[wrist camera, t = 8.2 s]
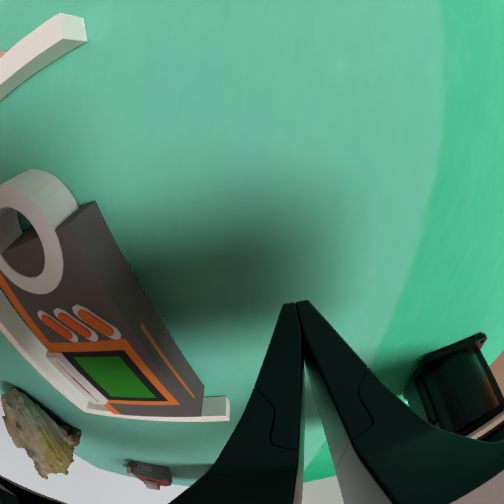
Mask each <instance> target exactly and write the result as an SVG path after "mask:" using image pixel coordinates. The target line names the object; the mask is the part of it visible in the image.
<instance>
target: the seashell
mask: <svg viewBox="0 0 504 504" xmlns="http://www.w3.org/2000/svg"><path fill="white" fill-rule="evenodd" d="M1 401H2V406H3V410H4V413H5V416H3V419H4V422H5V425H6V428H7V431H8V433H9V435H10V436H11V437H12V440H13V442H14V444H15V445H16V447H18V448H20V447H21V448H25V450H26V451H27V455H28V456H29V457H30V458H31V459H32V460H34V464H35V466H34V467H35V469H36V470H37V471H38V474H39V475H40V476H41V477H43V478H45V479H48V477H47V474H49V473H55V474H57V473H61V472H62V473H64V474H65V475H67V474H68V471H67V468H68V467H69V465H70V464H71V463H72V462H73V461H74V460H73V458H72V457H73V450H74V446H78V444H79V441H80V436H81V435H82V434H81V431H80V430H79V429H76V428H72V427H70V426H60V425H59V424H58V425H57V424H56V422H55V421H54V420H53V419H52V418H50V417H49V415H48V414H47V413H46V412H45V411H44V410H42V409H41V408H40V407H39V405H38V404H35V403H34V402H33V401H32V400H31V399H30V398H29V397H28V396H27V395H26V394H24V393H22V392H19V391H18V390H17V389H16V388H14V389H12V390H11V391H10V390H9V391H8V392H7V393H6V394H3V395H1Z"/></svg>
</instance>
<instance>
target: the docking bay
mask: <svg viewBox="0 0 504 504" xmlns="http://www.w3.org/2000/svg"><path fill="white" fill-rule="evenodd" d="M86 42H88V41H87V36H86V30H85V23H84V18H80V17H76V16H72V15H68V14H63V13H58V14H57V15H55V16H54V17H52V18H51V19H49V20H48V21H46V22H45V23H43V24H42V25H40V26H39V27H38V28H36V29H35V30H34V31H32V32H31V33H30V34H28V35H27V36H26V37H24V38H23V39H22V40H21V41H19V42H18V43H17V44H16V45H15V46H13V47H12V48H11V49H10V50H9V51H0V101H1V100H2V99H3V98H4V97H5V96H7V95H8V94H9V93H10V92H11V91H13V90H14V89H15V88H16V87H18V86H19V85H20V84H22V83H23V82H24V81H26V80H27V79H28V78H30V77H31V76H32V75H34V74H35V73H37V72H38V71H40V70H41V69H42V68H44V67H45V66H47V65H48V64H50V63H52V62H53V61H55V60H56V59H58V58H60V57H61V56H63V55H64V54H66V53H68V52H70V51H71V50H73V49H75V48H77V47H78V46H80V45H82V44H84V43H86ZM0 330H1V332H2V333H3V334H4V335H5V336H6V338H7V339H8V340H9V341H10V342H11V343H12V345H13V346H14V347H15V348H16V349H17V350H18V351H19V352H20V353H21V355H22V356H23V357H24V358H25V359H26V360H27V361H28V362H29V363H30V364H31V365H32V366H33V367H34V368H35V369H36V370H37V371H38V372H39V373H40V374H41V375H42V376H43V377H44V378H45V379H46V380H47V381H48V382H49V383H51V384H52V385H53V386H54V387H55V388H56V389H57V390H58V391H59V392H61V393H62V394H63V395H64V396H65V397H66V398H68V399H69V400H70V401H71V402H72V403H74V404H75V405H76V406H77V407H79V408H80V409H81V410H83V411H84V412H86V413H92V414H98V415H105V416H112V417H120V418H129V419H140V420H154V421H177V422H210V421H230V401H229V400H228V398H227V397H226V396H220V397H203V405H202V416H201V417H148V416H130V415H118V414H113V413H112V412H111V411H109V410H108V409H107V408H106V407H105V406H104V405H102V404H93V403H92V402H91V401H90V400H88V399H87V398H86V397H85V396H84V395H83V394H82V393H81V392H80V391H79V390H78V389H76V388H75V387H74V386H73V385H72V384H71V383H70V382H69V381H68V380H67V379H66V378H65V377H64V376H63V375H62V374H61V373H60V372H59V371H58V370H57V369H56V368H55V366H54V365H53V364H52V363H51V362H50V361H49V360H48V359H47V358H46V352H47V349H46V348H45V347H44V345H43V344H42V343H41V342H40V341H39V340H38V339H37V337H36V336H35V335H34V334H33V333H32V331H31V330H30V329H29V328H28V326H27V325H26V324H25V323H24V321H23V320H22V319H21V317H20V316H19V315H18V313H17V312H16V311H15V309H14V308H13V307H12V305H11V304H10V302H9V301H8V299H7V298H6V297H5V295H4V294H3V292H2V291H1V289H0Z"/></svg>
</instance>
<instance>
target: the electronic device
mask: <svg viewBox="0 0 504 504" xmlns="http://www.w3.org/2000/svg"><path fill="white" fill-rule="evenodd" d="M17 211H19V212H20V213H22V214H23V215H24V216H25V217H26V218H27V219H28V220H29V221H30V223H31V224H32V225H33V228H31V229H29V230H27V231H25V232H22V230H21V228H20V225H19V221H18V215H17ZM38 236H39V237H38ZM36 237H37V238H36ZM34 238H35V239H34ZM31 239H33V240H31ZM29 240H30V241H29ZM0 286H1V287H2V289H3V290H4V292H5V293H6V295H7V296H8V298H9V299H10V301H11V302H12V304H13V305H14V307H15V308H16V310H17V311H18V312H19V314H20V315H21V317H22V318H23V319H24V321H25V322H26V323H27V325H28V326H29V327H30V328H31V330H32V331H33V332H34V334H35V335H36V336H37V337H38V339H39V340H40V341H41V342H42V343H43V345H44V346H45V347H46V348H47V349H48V350H47V352H46V358H47V359H48V360H49V361H50V362H51V363H52V364H53V365H54V366H55V368H56V369H57V370H58V371H59V372H60V373H61V374H62V375H63V376H64V377H65V378H66V379H67V380H68V381H69V382H70V383H71V384H72V385H73V386H74V387H75V388H76V389H78V390H79V391H80V392H81V393H82V394H83V395H84V396H85V397H86V398H87V399H88V400H90V401H91V402H92V403H93V404H102V405H104V406H105V407H106V408H107V409H108V410H109V411H111V412H112V413H113V414H118V415H130V416H148V417H201V416H202V405H203V395H204V385H203V384H202V382H201V381H200V379H199V378H198V376H197V375H196V374H195V372H194V371H193V369H192V368H191V366H190V365H189V363H188V362H187V360H186V359H185V357H184V356H183V354H182V353H181V351H180V350H179V348H178V347H177V345H176V344H175V342H174V340H173V339H172V337H171V336H170V334H169V332H168V331H167V329H166V328H165V326H164V324H163V323H162V321H161V319H160V318H159V316H158V315H157V313H156V311H155V310H154V308H153V307H152V305H151V303H150V302H149V300H148V299H147V297H146V295H145V294H144V292H143V290H142V289H141V287H140V285H139V284H138V282H137V280H136V278H135V277H134V275H133V273H132V271H131V270H130V268H129V266H128V264H127V262H126V261H125V259H124V257H123V255H122V253H121V251H120V250H119V248H118V246H117V244H116V242H115V240H114V238H113V236H112V234H111V232H110V230H109V228H108V226H107V224H106V222H105V220H104V218H103V216H102V214H101V212H100V210H99V208H98V206H97V203H96V201H93V202H90V203H88V204H85V205H83V206H80V207H78V205H77V203H76V201H75V199H74V197H73V195H72V194H71V193H70V191H69V190H68V188H67V187H66V186H65V185H64V184H63V183H62V182H61V181H60V180H59V179H58V178H57V177H55V176H54V175H52V174H51V173H49V172H46V171H44V170H40V169H29V170H26V171H24V172H22V173H20V174H18V175H16V176H15V177H13V178H11V179H9V180H8V181H6V182H4V183H3V184H1V185H0Z"/></svg>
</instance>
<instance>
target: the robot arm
mask: <svg viewBox="0 0 504 504" xmlns="http://www.w3.org/2000/svg"><path fill="white" fill-rule="evenodd" d="M486 339H487V336H486V335H485V333H483V334H481V335H479V336H476V337H474V338H472V339H470V340H467V341H465V342H462V343H460V344H458V345H455V346H453V347H450V348H448V349H445V350H443V351H440V352H437V353H435V354H432V355H429V356H427V357H425V358H424V359H423V360H422V362H421V364H420V366H419V367H418V369H417V371H416V373H415V375H414V377H413V378H412V380H411V382H410V384H409V385H408V387H407V389H406V391H405V392H404V394H403V397H404V399H407V401H408V404H409V406H407V405H406V404H405V403H404V402H403V401H402V400H400V399H399V398H398V397H397V396H396V395H395V394H394V393H393V392H391V391H390V390H389V389H388V388H387V387H386V386H385V385H384V384H383V383H382V382H381V381H380V380H379V379H378V378H377V376H376V375H375V374H374V373H373V372H372V371H371V370H370V369H369V368H367V365H366V364H365V363H364V362H363V361H362V360H361V359H360V357H359V356H358V355H357V354H356V353H355V352H354V351H353V350H352V348H351V347H350V346H349V345H348V344H347V343H346V342H345V341H344V339H343V338H342V337H341V336H340V335H339V334H338V333H337V332H336V330H335V329H334V328H333V327H332V326H331V325H330V324H329V323H328V321H327V320H326V319H325V318H324V317H323V316H322V315H321V314H320V313H319V311H318V310H317V309H316V308H315V307H314V306H313V305H312V304H311V303H310V301H308V300H304V301H298V302H296V303H294V302H292V303H286V304H283V306H282V308H281V311H280V314H279V317H278V320H277V323H276V326H275V329H274V332H273V335H272V338H271V341H270V344H269V347H268V350H267V353H266V355H265V358H264V361H263V364H262V367H261V369H260V372H259V375H258V378H257V381H256V383H255V386H254V387H255V388H254V389H253V391H252V394H251V396H250V399H249V401H248V404H247V406H246V408H245V411H244V413H243V415H242V417H241V419H240V421H239V423H238V424H237V426H236V428H235V430H234V432H233V433H232V435H231V437H230V438H229V440H228V442H227V444H226V445H225V447H224V449H223V450H222V452H221V454H220V455H219V457H218V458H217V460H216V461H215V463H214V464H213V465H212V467H211V468H210V469H209V470H208V471H207V472H206V473H205V474H204V475H203V476H202V477H201V478H200V479H199V480H197V481H196V482H195V483H194V484H193V485H191V486H190V487H189V488H188V489H186V490H185V491H184V492H183V493H181V494H180V495H179V496H178V497H176V498H175V499H174V500H172V501H171V502H170V503H168V504H302V490H303V468H304V430H305V375H304V362H305V366H306V370H307V374H308V377H309V380H310V384H311V387H312V390H313V394H314V397H315V401H316V404H317V407H318V411H319V414H320V418H321V421H322V425H323V428H324V432H325V435H326V439H327V442H328V446H329V449H330V453H331V456H332V460H333V464H334V467H335V469H336V470H335V471H336V475H337V478H338V482H339V486H340V489H341V493H342V497H343V501H344V504H504V421H502V422H501V423H500V424H498V425H497V426H495V427H494V428H493V429H491V430H489V431H488V432H487V433H485V434H484V435H482V436H481V437H479V438H477V439H476V440H475V439H472V438H470V437H472V436H473V435H475V434H476V433H478V432H479V431H481V430H483V429H484V428H486V427H487V426H489V425H490V424H491V423H493V422H494V421H496V420H497V419H498V418H500V417H501V416H502V415H504V397H503V395H502V393H501V390H500V388H499V386H498V384H497V382H496V380H495V378H494V376H493V374H492V372H491V370H490V368H489V366H488V364H487V362H486V360H485V358H484V356H483V354H482V353H481V351H480V349H481V347H482V346H483V344H484V342H485V341H486ZM0 504H67V503H64V502H61V501H58V500H55V499H53V498H50V497H47V496H45V495H42V494H39V493H37V492H34V491H32V490H30V489H28V488H25V487H23V486H21V485H19V484H17V483H15V482H12V481H11V480H8V479H7V478H4V477H2V476H1V475H0Z"/></svg>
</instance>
